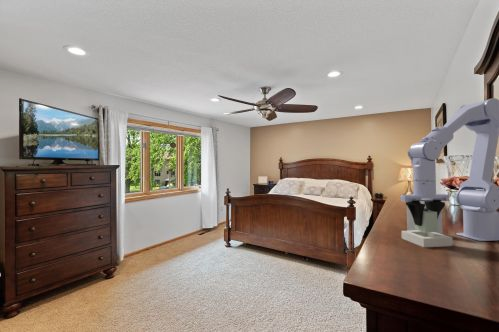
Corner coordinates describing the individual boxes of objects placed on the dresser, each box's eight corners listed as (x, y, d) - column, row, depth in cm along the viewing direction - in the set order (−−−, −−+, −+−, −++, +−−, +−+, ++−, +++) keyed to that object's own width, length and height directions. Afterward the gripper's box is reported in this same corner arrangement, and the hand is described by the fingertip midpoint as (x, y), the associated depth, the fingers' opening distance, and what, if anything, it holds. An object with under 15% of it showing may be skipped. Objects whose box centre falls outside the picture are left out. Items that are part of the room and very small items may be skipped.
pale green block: (426, 228, 77) (426, 207, 77) (437, 232, 73) (437, 209, 73) (414, 229, 77) (414, 207, 77) (425, 232, 73) (424, 209, 73)
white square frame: (427, 237, 80) (427, 229, 80) (452, 246, 71) (452, 237, 71) (401, 238, 79) (401, 230, 79) (423, 247, 70) (423, 238, 70)
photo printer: (405, 231, 88) (404, 196, 88) (409, 229, 91) (408, 196, 91) (440, 236, 80) (439, 199, 80) (444, 234, 83) (443, 198, 83)
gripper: (435, 179, 80) (436, 221, 80) (393, 180, 79) (394, 222, 78) (455, 180, 73) (456, 226, 73) (409, 181, 71) (410, 228, 71)
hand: (425, 224), depth 75 cm, fingers closed on pale green block, 4 cm apart
